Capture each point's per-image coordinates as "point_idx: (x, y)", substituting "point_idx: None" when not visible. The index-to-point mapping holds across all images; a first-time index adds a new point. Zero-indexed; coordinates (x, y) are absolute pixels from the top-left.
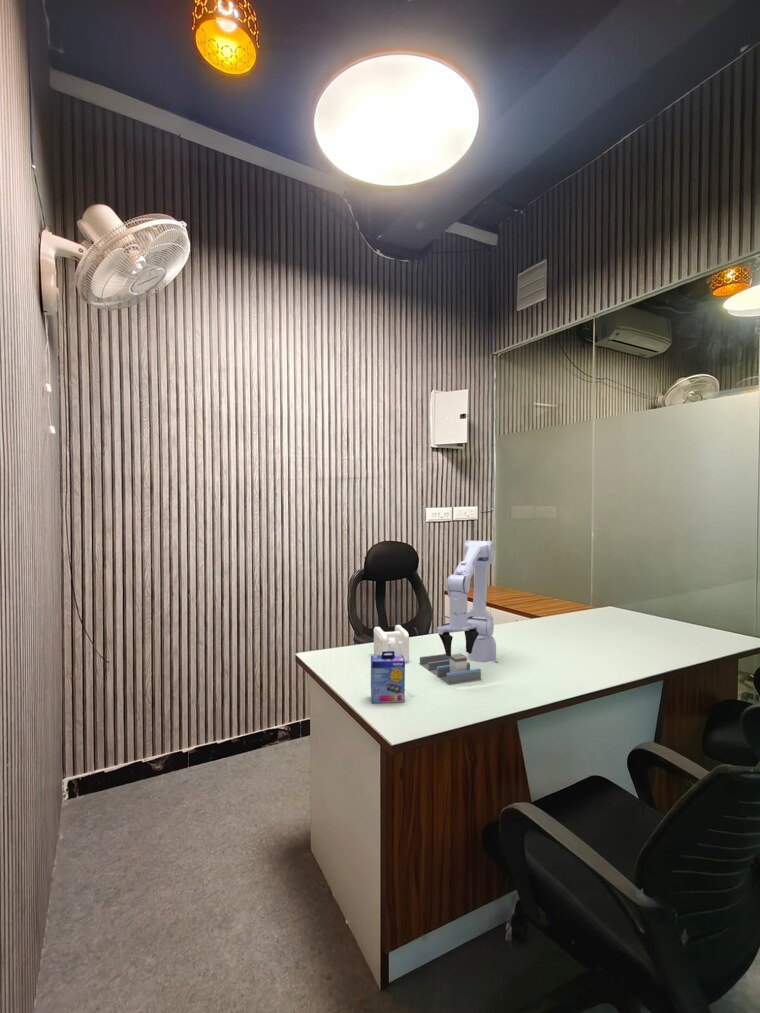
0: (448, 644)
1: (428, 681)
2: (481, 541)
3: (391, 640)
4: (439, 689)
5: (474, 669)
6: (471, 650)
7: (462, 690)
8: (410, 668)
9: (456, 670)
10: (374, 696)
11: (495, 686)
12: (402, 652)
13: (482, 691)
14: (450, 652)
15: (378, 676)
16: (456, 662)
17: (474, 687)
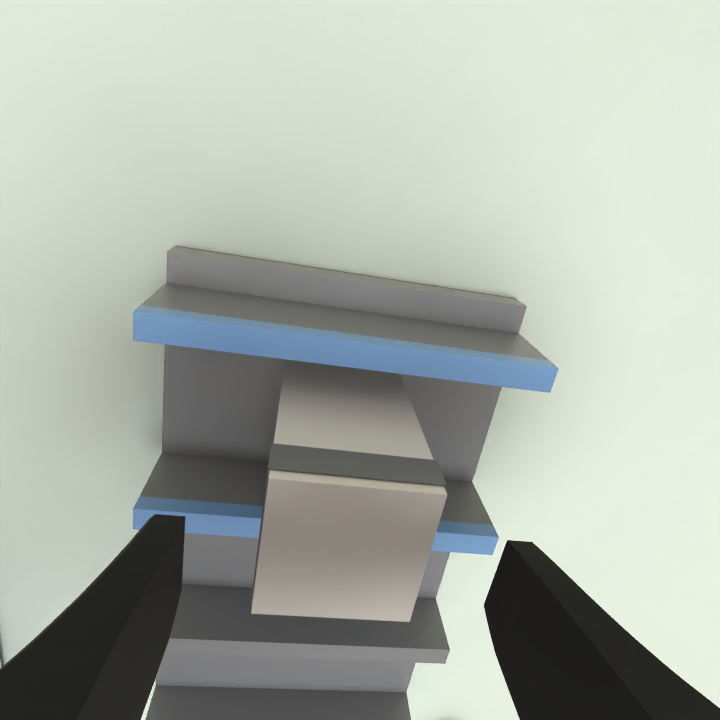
0: (706, 705)
1: (537, 477)
2: None
3: None
4: (592, 320)
5: (213, 339)
6: (142, 542)
7: (458, 205)
8: (465, 683)
9: (407, 408)
10: None
11: (101, 108)
12: None
13: (314, 76)
14: (547, 576)
15: None
16: (423, 457)
17: (315, 204)
